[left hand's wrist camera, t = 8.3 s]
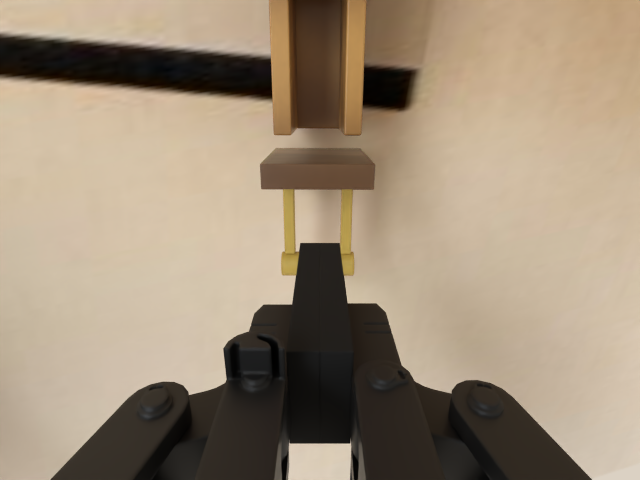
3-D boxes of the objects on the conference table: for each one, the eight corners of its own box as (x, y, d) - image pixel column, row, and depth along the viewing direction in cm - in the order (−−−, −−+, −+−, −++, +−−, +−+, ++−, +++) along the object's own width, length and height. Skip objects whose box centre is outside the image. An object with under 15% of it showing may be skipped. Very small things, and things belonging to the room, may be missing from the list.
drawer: (356, 255, 26) (368, 302, 20) (279, 254, 26) (266, 302, 20) (371, -138, 19) (396, -256, 13) (265, -138, 19) (238, -257, 13)
